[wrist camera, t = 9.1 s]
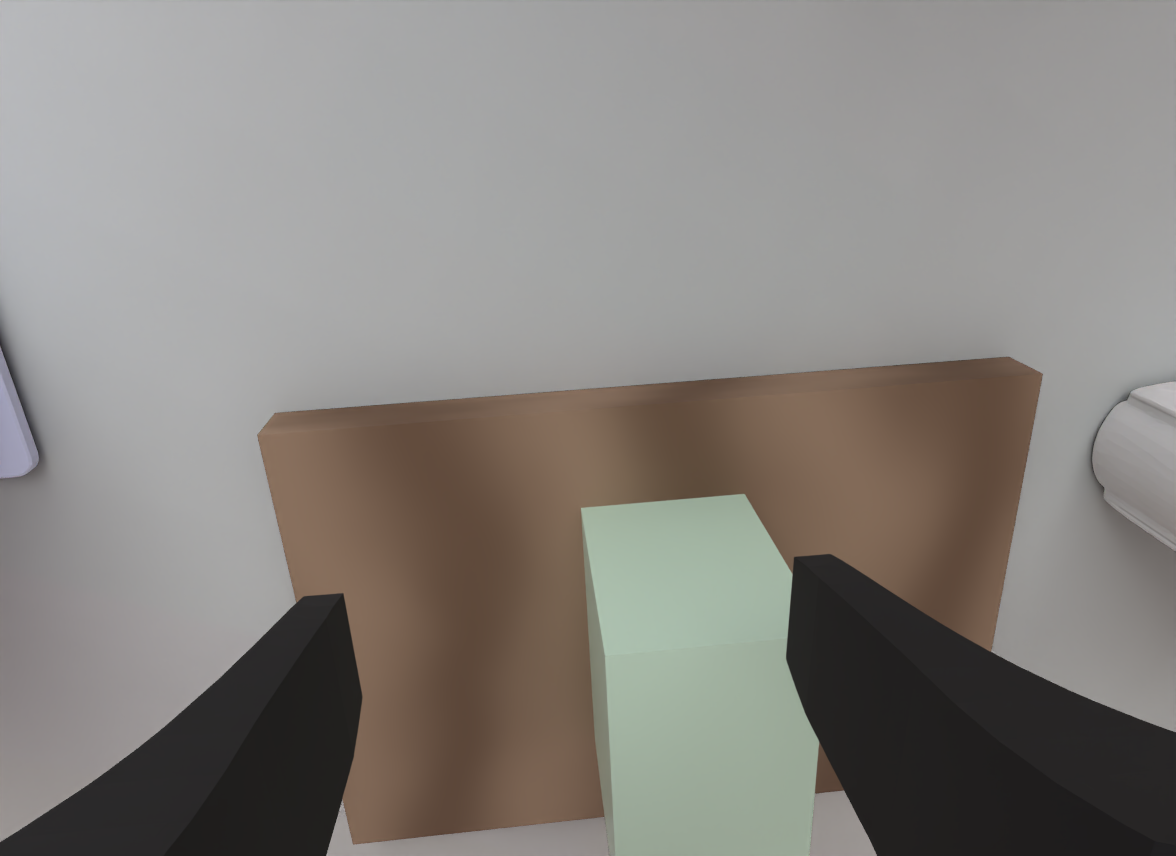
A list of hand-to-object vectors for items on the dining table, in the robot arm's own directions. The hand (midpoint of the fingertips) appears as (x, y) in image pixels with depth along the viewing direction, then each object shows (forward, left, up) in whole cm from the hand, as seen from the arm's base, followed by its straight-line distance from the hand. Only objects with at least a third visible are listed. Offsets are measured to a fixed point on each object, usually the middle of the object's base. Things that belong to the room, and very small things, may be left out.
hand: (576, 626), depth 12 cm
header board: (+3, -6, -9) cm, 12 cm away
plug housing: (+3, -6, -8) cm, 10 cm away
